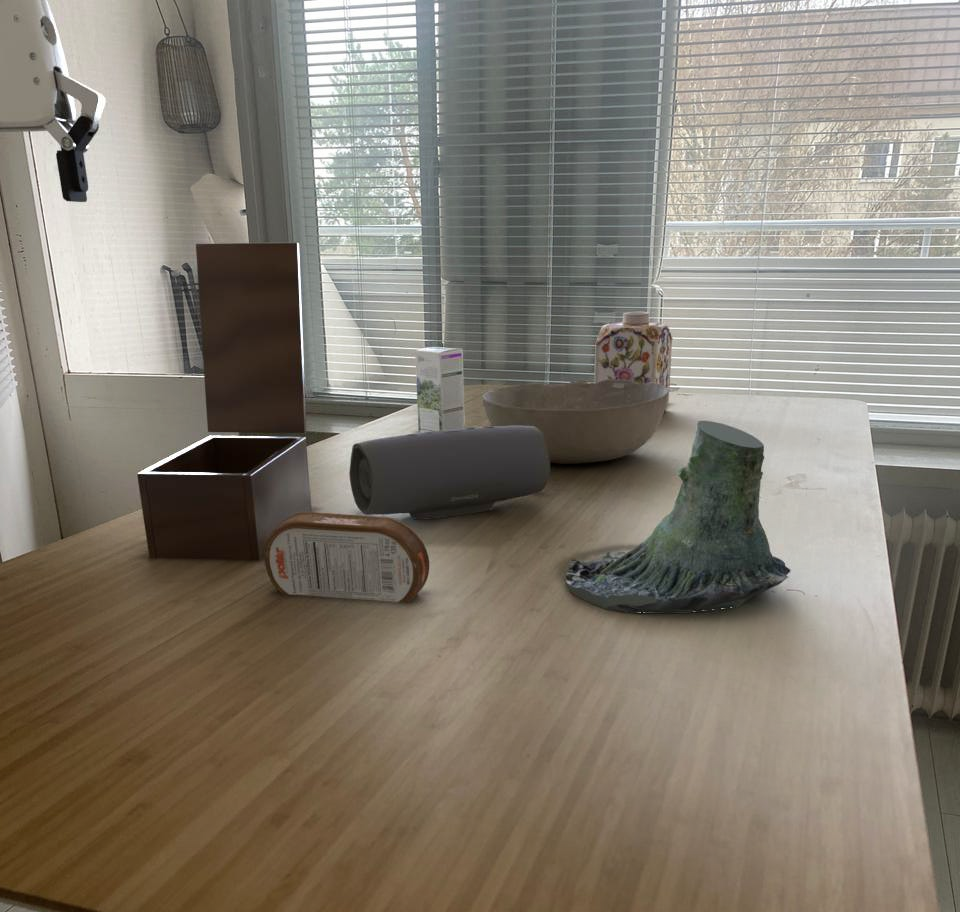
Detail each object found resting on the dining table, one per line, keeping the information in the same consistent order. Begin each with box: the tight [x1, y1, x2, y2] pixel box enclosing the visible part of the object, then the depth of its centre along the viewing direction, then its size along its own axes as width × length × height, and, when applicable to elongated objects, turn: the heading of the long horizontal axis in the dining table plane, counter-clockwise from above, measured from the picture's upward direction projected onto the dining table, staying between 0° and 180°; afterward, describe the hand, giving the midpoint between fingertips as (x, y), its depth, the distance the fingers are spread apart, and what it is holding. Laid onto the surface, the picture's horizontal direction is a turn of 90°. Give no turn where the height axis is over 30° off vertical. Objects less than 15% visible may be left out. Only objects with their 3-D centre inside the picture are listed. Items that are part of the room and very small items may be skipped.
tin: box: [263, 511, 430, 604], centre depth 87 cm, size 15×3×8 cm, turn 77°
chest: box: [136, 435, 313, 561], centre depth 106 cm, size 20×12×10 cm, turn 174°
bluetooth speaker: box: [348, 425, 551, 520], centre depth 117 cm, size 23×9×10 cm, turn 116°
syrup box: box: [414, 346, 466, 433], centre depth 159 cm, size 6×6×14 cm
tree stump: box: [565, 420, 792, 614], centre depth 90 cm, size 18×20×18 cm
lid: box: [195, 242, 307, 434], centre depth 113 cm, size 20×12×5 cm
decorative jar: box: [593, 311, 673, 412], centre depth 180 cm, size 12×12×18 cm
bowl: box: [481, 379, 670, 465], centre depth 146 cm, size 28×28×10 cm
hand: (24, 202), depth 88 cm, fingers open, 9 cm apart
